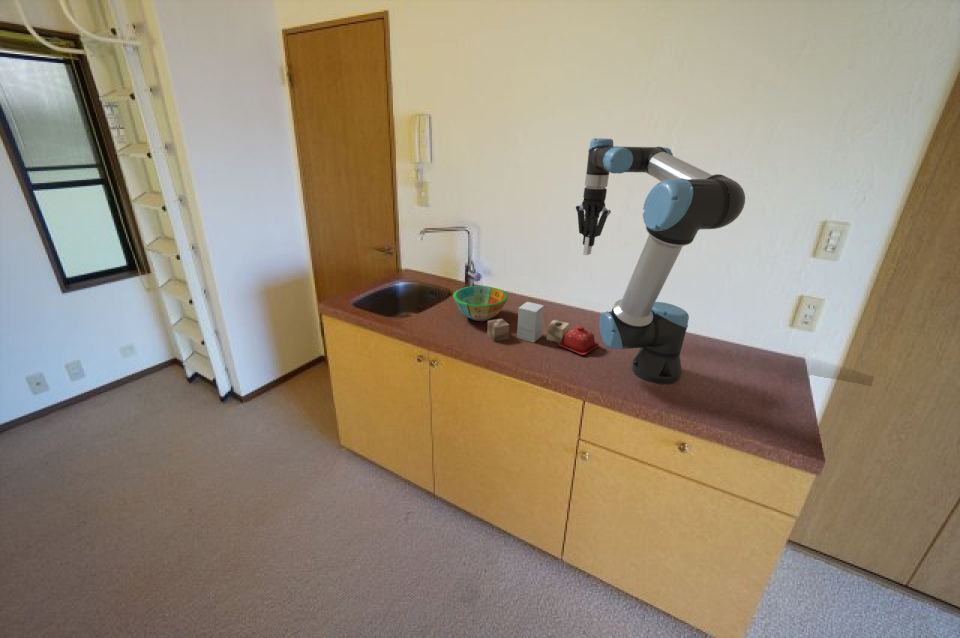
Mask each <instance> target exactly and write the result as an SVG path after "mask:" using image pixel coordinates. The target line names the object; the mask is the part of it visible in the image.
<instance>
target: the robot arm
mask: <svg viewBox="0 0 960 638" xmlns="http://www.w3.org/2000/svg"><path fill="white" fill-rule="evenodd" d="M587 151H588V155H587V163H586V164H587V165H586V173H585V181H584V186H585V187H584V189H583V201H582V202H581V204H580V205H576V206H575V209H576V212H577V224H578V232H579V234H581V235H583V239H582V245H584V246H583V252H582V253H583V254H582V255H584V256H589V255H591V254H592V247H593V246H595V241H596V238H598V237H600V236H601V235H602V232H603V230H604V228H605V223H606V221H607V219H608V217H609V215H610V214H611V213H612V211H611V209H608V208H607V207H606V203H605V201H606V198H607V191H608V189H607V187H608V182H609V175H610V174H619V175H620V174H624V173H645V174H648V175H649V176H650V177H653V178H655V179H657V180H658V181H660V182H658V183H656V184H655V185H654V186H653V187H652V188H651V189H650V191H649V192H648V194H647V196H646V198H645V201H644V203H643V209H642V210H643V211H644V212H642V219H643V223H644V225H645V230H646V232H647V233H648V236H647V239H646V242H645V244H644V246H643V249H642V251H641V253H640V256H639V258H638V260H637V263H636V265H635V268H634V270H633V273H632V274H631V277H630V279H629V281H628V284H627V286H626V289H625V292H624V294H623V296H622V299H618V300H617V301H615V302H614V304H613V306H612V309H611V311H608V310H607V311H605V312H602V313H601V314H600V317H599V323H598V324H599V326H598V327H599V332H600V336H601V340H602V341H603V343H604V345H605V346H606V347H607V348H608V349H611V350H620V351H621V350H627V349H638V352H637V353H636V354H635V356H634V357H633V359H632V363H631V370H632V372H633V373H634V374H635V375H636V376H637V377H639V378H641V379H642V380H645V381H647V382H650V383H652V384H659V385H671V384H676V383H678V381H680V379H681V376H682V372H683V371H682V370H683V369H682V363H681V361H682V360H681V352H682V349H683V343H684V340H685V337H686V336H685V335H686V333H687V329H688V328H689V319H690V315H689V313H688V312H687V311H686V310H685V309H683V308H681V307H679V306H678V305H675V304H671V303H669V302H663V301H657V299H658V298H659V296H660V294H661V291H662V289H663V287H664V285H665V283H666V281H667V279H668V278H669V275H670V273H671V271H672V269H673V266H674V265H675V263H676V261H677V260H678V256H679V255H680V254H681V253H680V252H681V251H682V249H683V247H685V246H688V245H690V244H692V243H693V242H694V240H695V237H696V235H697V233H698V232H699V231H700V230H717V229H721V228H723V227H726V226H729V225H730V224H732V223H733V222H734V221H735V220H736V219H737V218H739V216H740V215H741V213H742V212H743V209H744V208H745V203H746V193H745V191H744V188H743V187H742V186H741V185H740V184H739V183H738V182H737V181H736V180H734V179H732V178H730V177H728V176H726V175H723V174H719V173H717V174H711V173H708V172H706V171H704V170H702V169H701V168H699V167H696V166H695V165H692V164H690V163H689V162H686V161H684V160H682V159H680V158H678V157H676V156H674V155H673V152H672V150H671V149H670V148H669V147H663V146H614V140H613V139H612V138H592V139H591V140H590V143H589V147H588V150H587ZM600 214H601V215H600ZM639 348H640V349H639Z"/></svg>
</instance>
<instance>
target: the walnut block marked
mask: <svg viewBox="0 0 960 638" xmlns="http://www.w3.org/2000/svg"><path fill="white" fill-rule="evenodd" d="M486 333H487V336H488V337H489V338H490V339H491V340H492V341H493V342H494V341H495V342H500V341H499V340H501V341H505V340H509V333H510V324H509V323H508V322H507V321H506V320H504V319H503V318H496V319H489V320H487V331H486Z"/></svg>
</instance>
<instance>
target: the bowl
mask: <svg viewBox="0 0 960 638" xmlns="http://www.w3.org/2000/svg"><path fill="white" fill-rule="evenodd" d="M452 298H453V300H454V302H455V304H456V305H457V307H458V309H459V311H460V312H461V313H462V314H463V315H464V316H465V317H467V318H468V319H471V320H473V321H476V322H485V321H489V320H491V319H492V318H495V317H496V316H497V315H498V314H499V313H500V312H501V311H502V310H503V308H504V305H506V302H507V301H508V298H509V294H507V292H506V291H504V290H502V289H500V288H497V287H493V286H488V285H487V286H485V285H474V286H473V285H472V286H466V287H465V286H464V287H461V288H460V289H457V290H455V291H454V292H453V294H452Z"/></svg>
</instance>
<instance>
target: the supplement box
mask: <svg viewBox="0 0 960 638" xmlns="http://www.w3.org/2000/svg"><path fill="white" fill-rule="evenodd" d="M517 311H518V316H517V317H518V318H517V332H516V333H517V336H516V338H517V339H520V340H523V341H526V342H530V343H533V344H534V343H536V341H537V340H539V339H540V338H541V337H542V336H543V327H544V326H543V325H544V314H545V305H543V304H539V303H534V302H530V301H525V303H523V304H522V305H521V306H519V307H518V310H517Z"/></svg>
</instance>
